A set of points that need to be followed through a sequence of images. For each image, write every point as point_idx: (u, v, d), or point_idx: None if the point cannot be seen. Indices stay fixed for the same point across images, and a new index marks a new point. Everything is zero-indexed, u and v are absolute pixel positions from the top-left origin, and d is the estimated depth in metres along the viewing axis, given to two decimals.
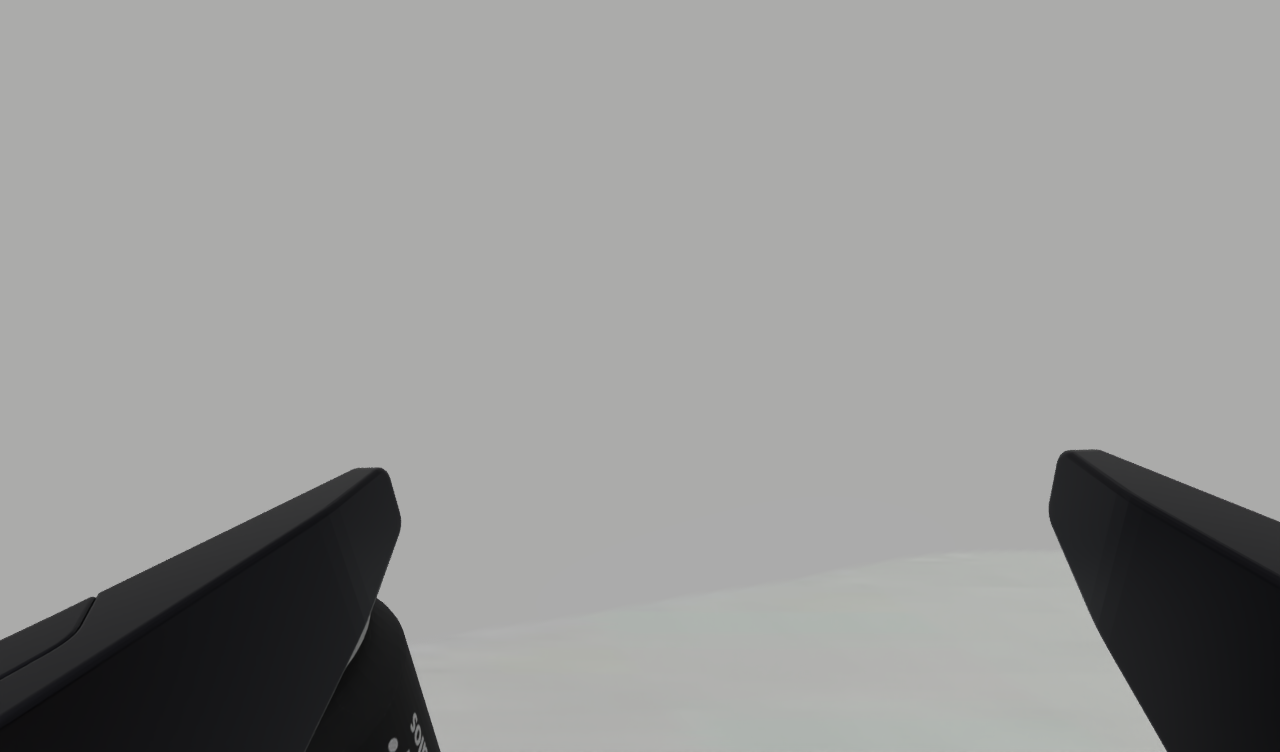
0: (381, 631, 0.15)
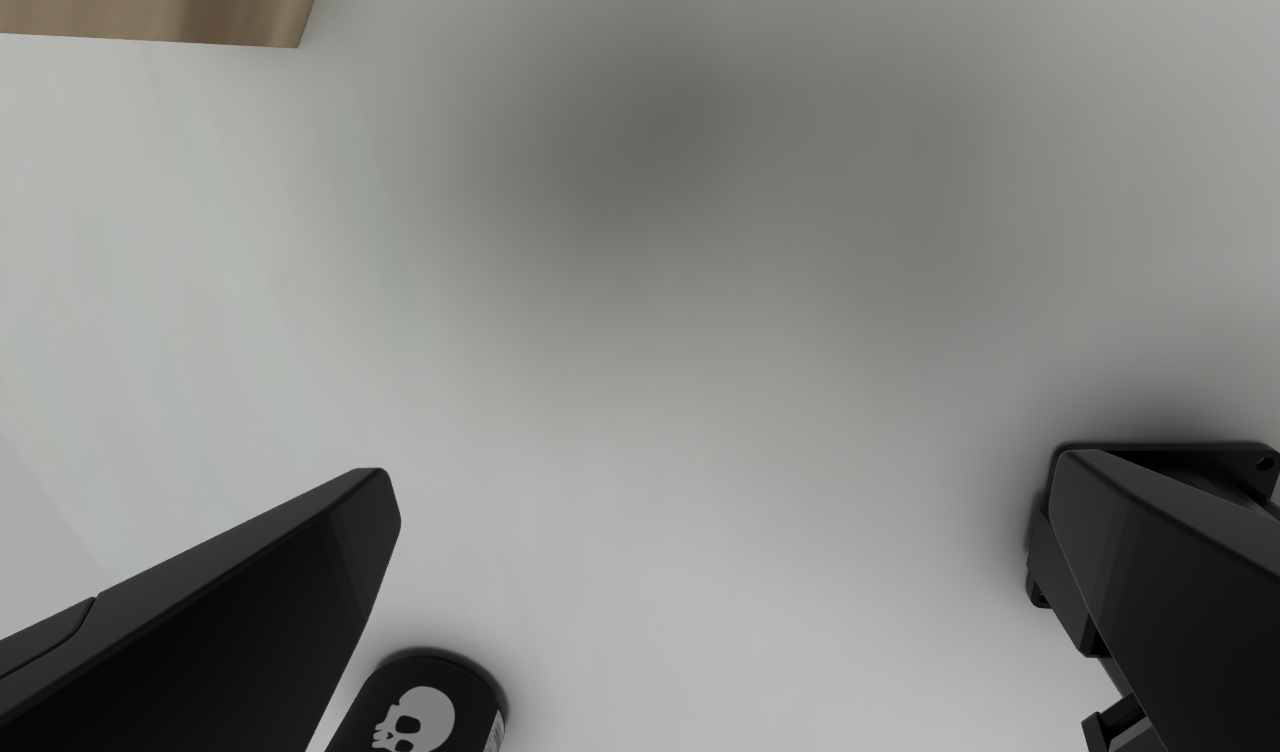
0: None
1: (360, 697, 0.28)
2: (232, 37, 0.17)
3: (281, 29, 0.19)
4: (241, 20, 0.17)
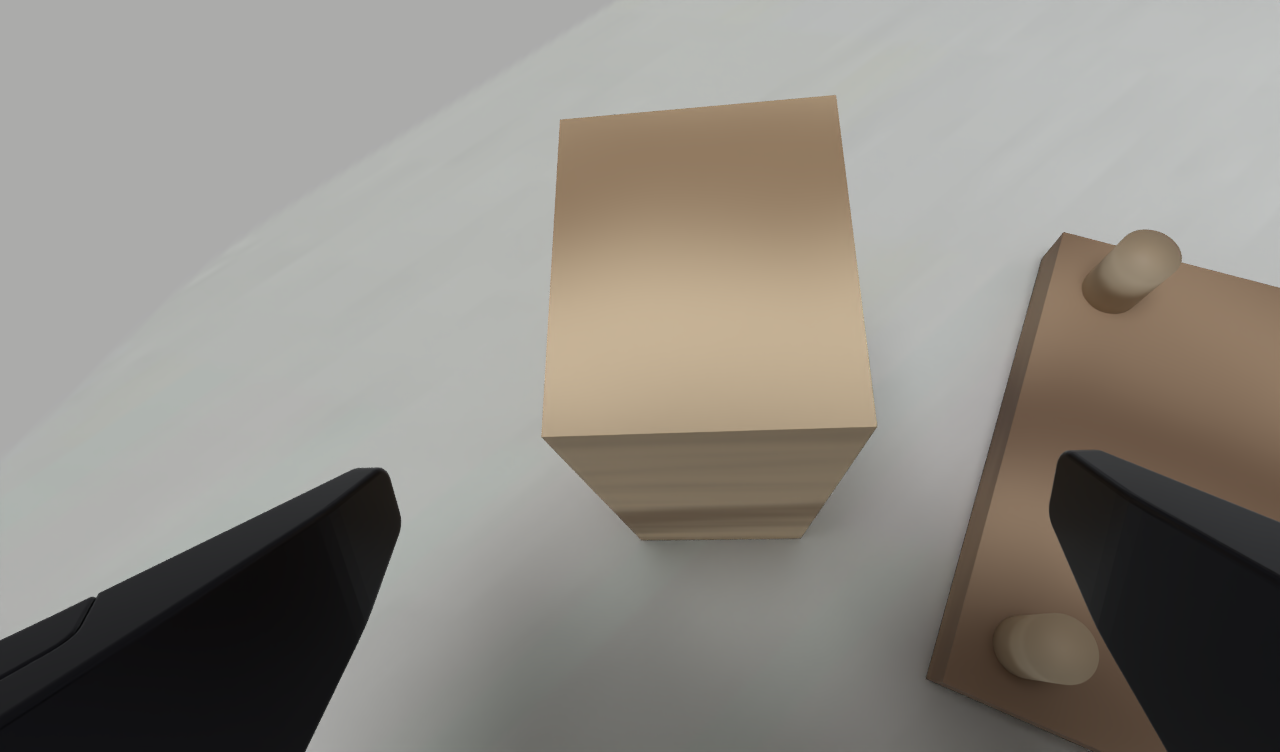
0: None
1: None
2: (633, 524, 0.17)
3: (655, 535, 0.19)
4: (653, 525, 0.17)
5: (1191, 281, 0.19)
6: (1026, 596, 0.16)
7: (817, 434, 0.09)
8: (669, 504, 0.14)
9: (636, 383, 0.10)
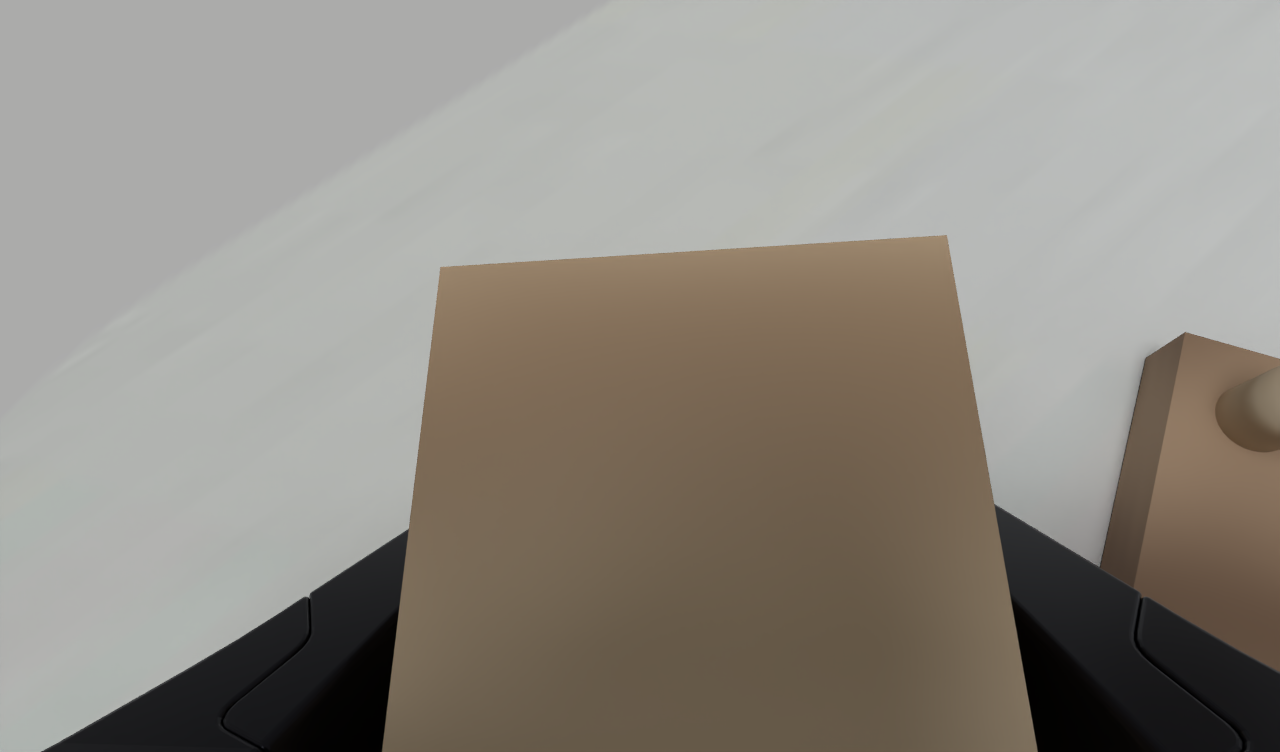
0: None
1: None
2: None
3: None
4: None
5: None
6: None
7: None
8: None
9: None
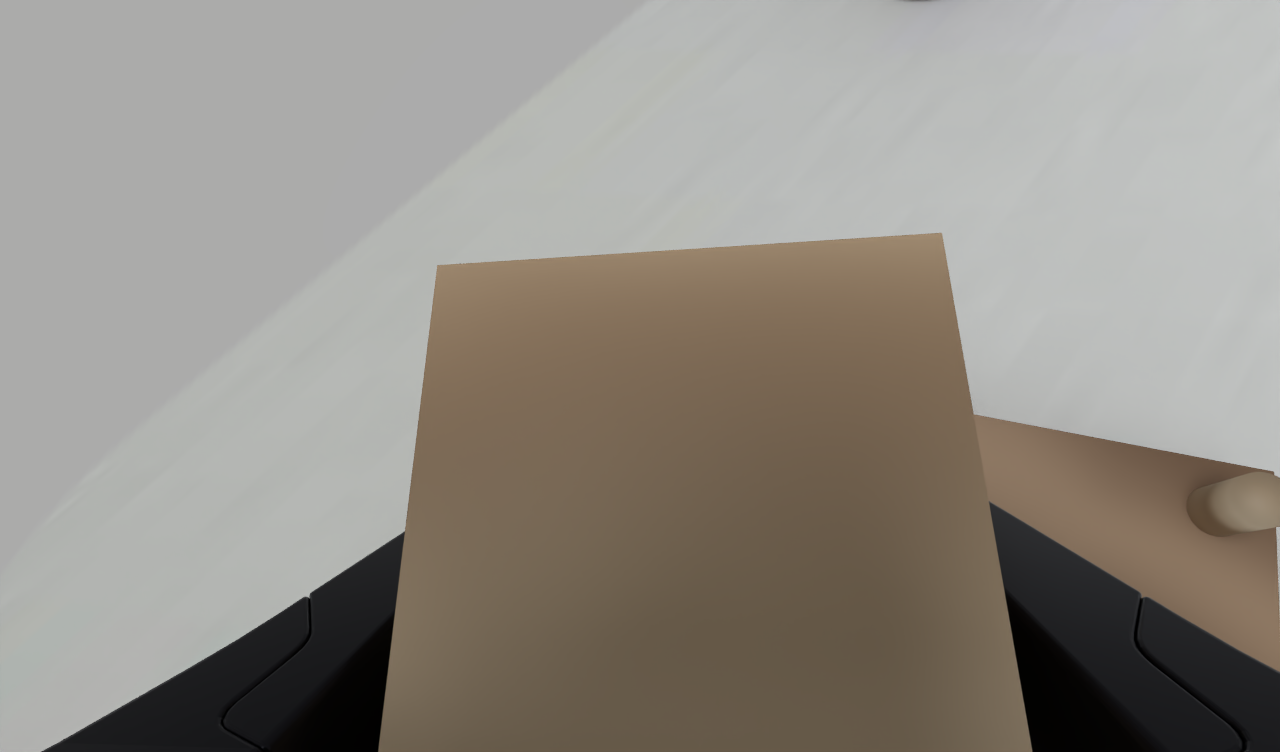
0: None
1: None
2: None
3: None
4: None
5: None
6: None
7: None
8: None
9: None
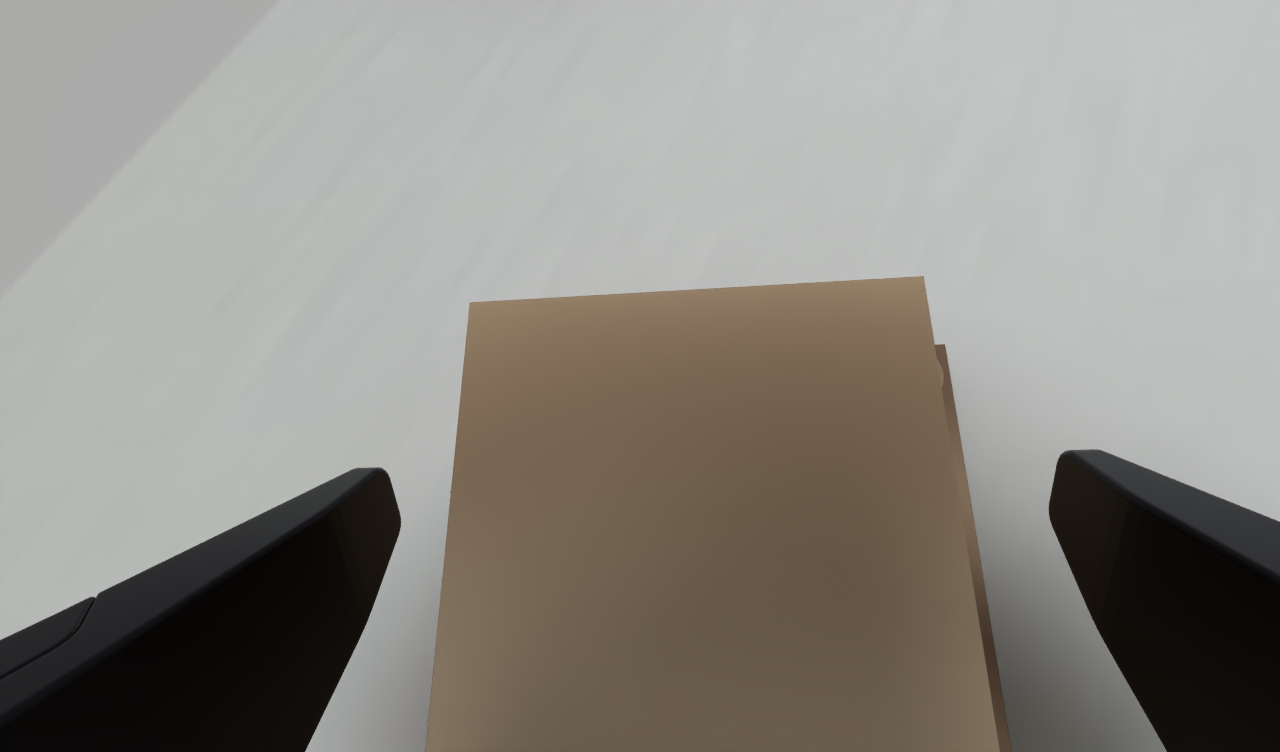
0: None
1: None
2: None
3: None
4: None
5: None
6: None
7: None
8: None
9: None
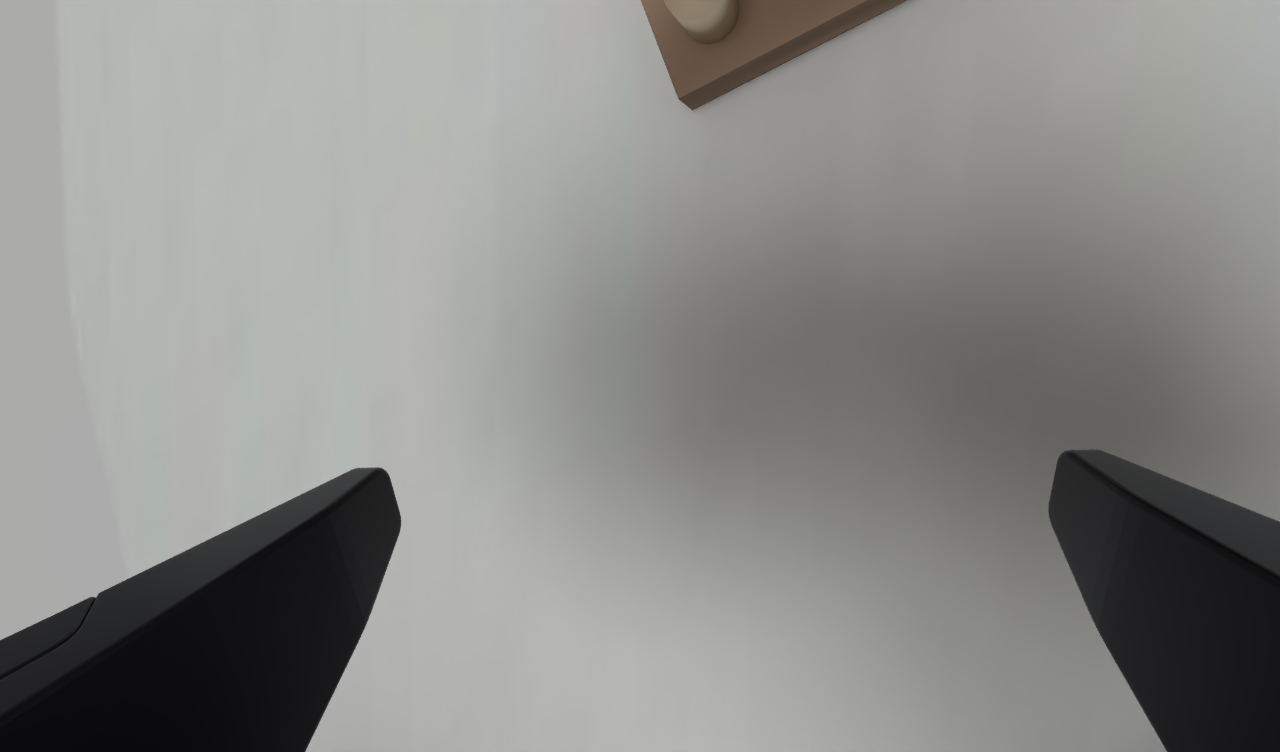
0: None
1: None
2: None
3: None
4: None
5: None
6: None
7: None
8: None
9: None
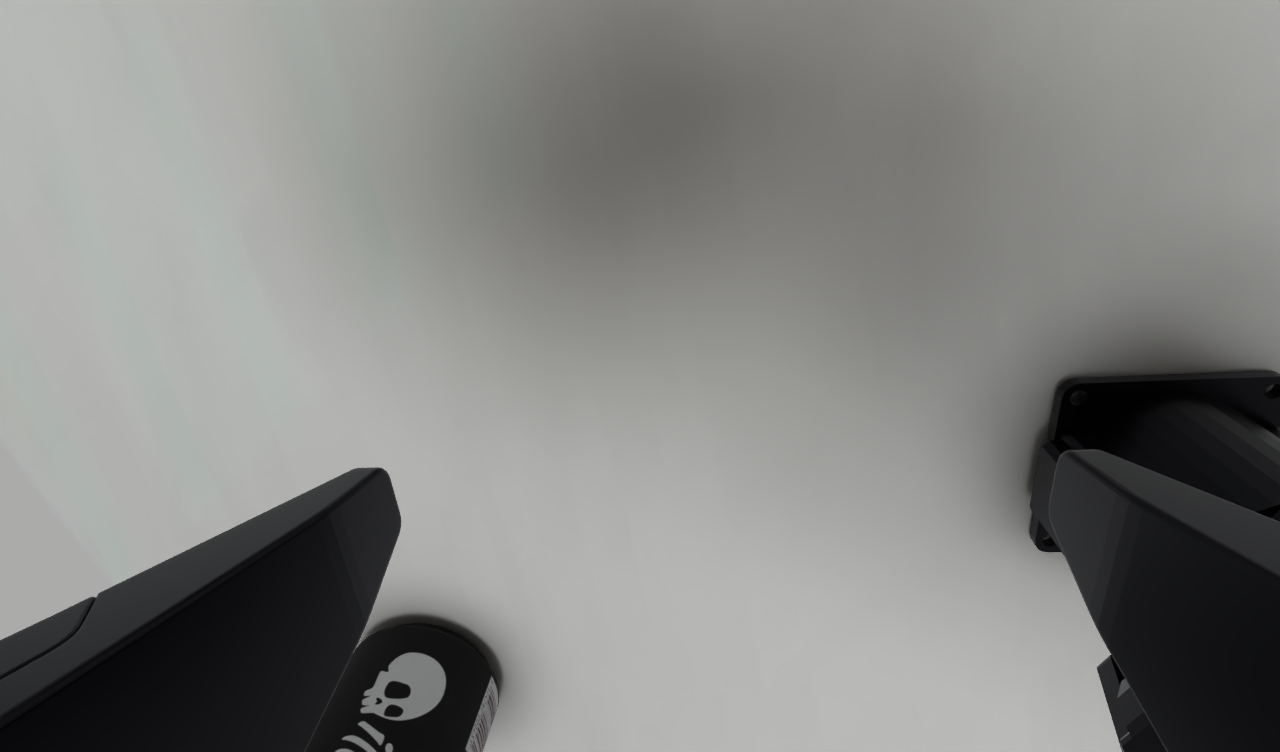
0: None
1: (348, 666, 0.27)
2: None
3: None
4: None
5: None
6: None
7: None
8: None
9: None
